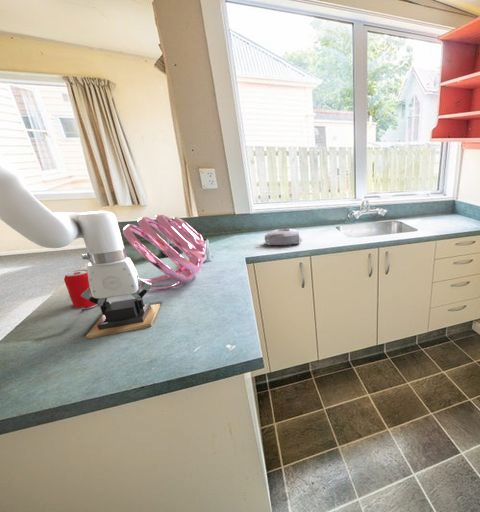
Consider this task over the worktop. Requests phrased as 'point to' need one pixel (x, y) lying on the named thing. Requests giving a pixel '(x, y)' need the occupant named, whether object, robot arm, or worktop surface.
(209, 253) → the planter
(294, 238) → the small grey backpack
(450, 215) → the worktop surface
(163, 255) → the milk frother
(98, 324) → the base pad
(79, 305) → the beverage can
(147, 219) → the spiral basket
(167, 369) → the worktop surface
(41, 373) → the worktop surface
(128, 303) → the dark grey rectangular block
